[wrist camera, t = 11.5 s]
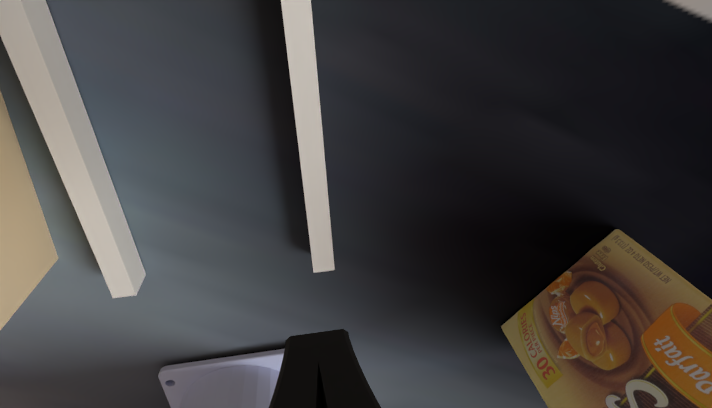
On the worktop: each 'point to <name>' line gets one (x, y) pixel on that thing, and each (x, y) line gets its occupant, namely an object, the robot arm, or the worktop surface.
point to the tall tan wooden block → (19, 226)
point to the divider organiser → (83, 155)
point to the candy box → (617, 333)
